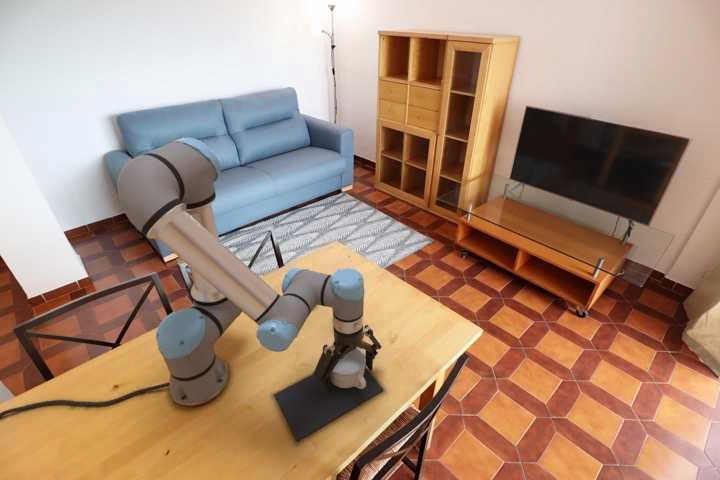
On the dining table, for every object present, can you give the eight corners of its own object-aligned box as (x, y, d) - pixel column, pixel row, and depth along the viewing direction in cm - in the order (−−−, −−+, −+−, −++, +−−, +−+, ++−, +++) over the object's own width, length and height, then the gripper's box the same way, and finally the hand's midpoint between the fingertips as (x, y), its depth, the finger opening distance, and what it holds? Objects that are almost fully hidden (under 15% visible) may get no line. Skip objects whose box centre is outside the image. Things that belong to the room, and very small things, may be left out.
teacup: (322, 369, 107) (320, 350, 103) (355, 356, 111) (355, 338, 107) (340, 409, 97) (339, 391, 92) (376, 394, 100) (377, 375, 96)
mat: (297, 441, 90) (297, 440, 90) (274, 395, 101) (274, 394, 100) (383, 390, 102) (383, 389, 102) (354, 354, 112) (354, 352, 112)
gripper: (310, 356, 83) (315, 410, 95) (397, 314, 95) (392, 367, 106) (296, 334, 89) (303, 389, 100) (380, 297, 100) (377, 349, 112)
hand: (349, 378), depth 103 cm, fingers open, 13 cm apart
